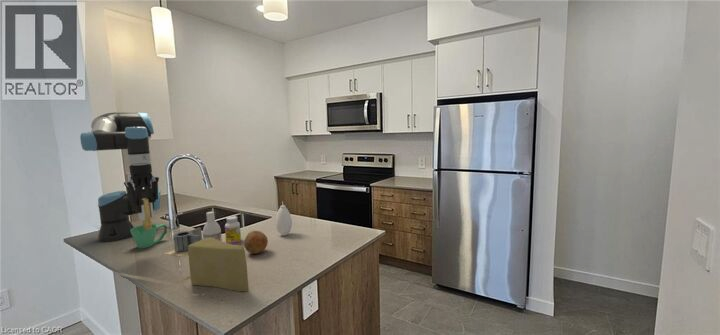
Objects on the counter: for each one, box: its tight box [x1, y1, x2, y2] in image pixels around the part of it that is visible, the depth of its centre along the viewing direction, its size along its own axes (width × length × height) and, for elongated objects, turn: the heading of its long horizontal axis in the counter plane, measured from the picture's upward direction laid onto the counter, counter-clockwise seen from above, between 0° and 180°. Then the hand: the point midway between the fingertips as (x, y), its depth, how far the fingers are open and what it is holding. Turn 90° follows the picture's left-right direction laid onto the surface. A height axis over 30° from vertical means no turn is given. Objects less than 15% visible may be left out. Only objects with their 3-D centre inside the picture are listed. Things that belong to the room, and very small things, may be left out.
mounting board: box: [162, 248, 189, 258], centre depth 138 cm, size 15×16×1 cm
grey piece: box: [172, 227, 203, 252], centre depth 139 cm, size 13×13×7 cm
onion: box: [243, 230, 269, 255], centre depth 133 cm, size 10×10×10 cm
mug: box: [130, 223, 168, 249], centre depth 144 cm, size 15×10×10 cm
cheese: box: [188, 237, 249, 292], centre depth 106 cm, size 22×10×15 cm, turn 65°
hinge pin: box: [141, 198, 152, 230], centre depth 130 cm, size 3×3×13 cm
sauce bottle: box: [275, 200, 293, 237], centre depth 155 cm, size 8×8×18 cm
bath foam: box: [202, 211, 223, 242], centre depth 128 cm, size 7×7×20 cm
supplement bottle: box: [224, 215, 242, 245], centre depth 145 cm, size 7×7×13 cm
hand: (146, 218), depth 130 cm, fingers closed on hinge pin, 3 cm apart
